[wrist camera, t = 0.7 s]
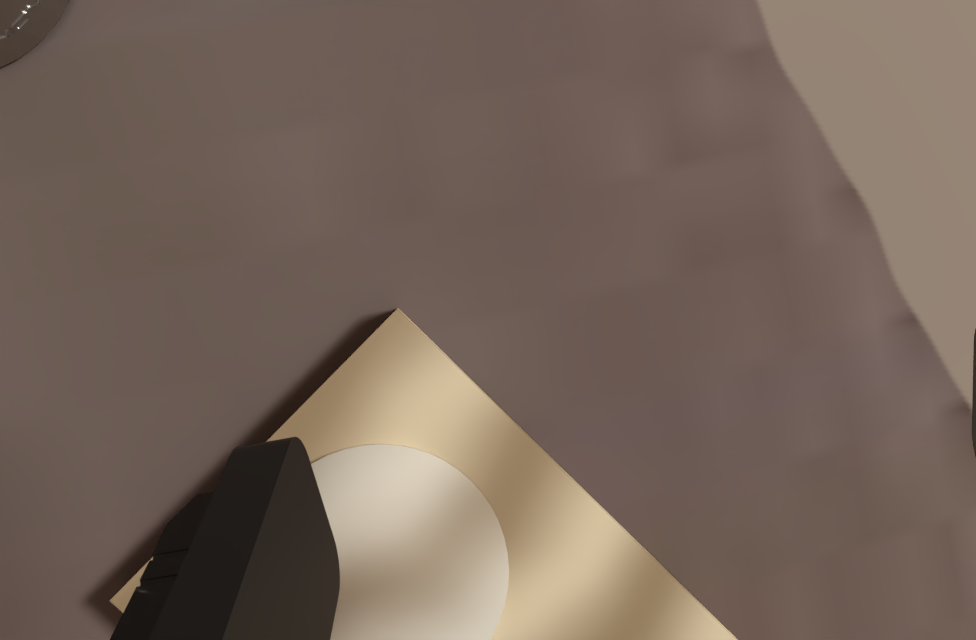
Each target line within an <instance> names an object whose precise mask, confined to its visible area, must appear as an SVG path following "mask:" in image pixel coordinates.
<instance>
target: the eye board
mask: <svg viewBox="0 0 976 640" xmlns="http://www.w3.org/2000/svg"><path fill="white" fill-rule="evenodd" d="M290 437H298V438H299V439H300V440H301V441H302V443H303V444H304V446H305V448H306V451H307V454H308V456H309V460H310V463H311V466H312V469H313V472H314V476H315V479H316V482H317V485H318V488H319V492H320V495H321V498H322V501H323V504H324V507H325V511H326V514H327V517H328V520H329V523H330V527H331V530H332V533H333V536H334V540H335V543H336V548H337V553H338V559H339V568H340V590H339V597H338V602H337V607H336V612H335V617H334V622H333V628H332V633H331V638H330V640H738V639H737V638H736V637H735V636H734V635H733V634H732V633H731V632H730V631H728V630H727V629H726V628H725V627H724V626H723V625H722V624H721V623H720V622H719V621H718V620H717V619H716V618H715V617H714V616H713V615H712V614H711V613H710V612H709V611H708V610H707V609H706V608H705V607H704V606H703V605H702V604H701V603H700V602H699V601H698V600H697V599H696V598H695V597H694V596H693V595H692V594H691V593H690V592H689V591H688V590H687V589H685V588H684V587H683V586H682V585H681V584H680V583H679V582H678V581H677V580H676V579H675V578H674V577H673V576H672V575H671V574H670V573H669V572H668V571H667V570H666V569H665V568H664V567H663V566H662V565H661V564H660V563H659V562H658V561H657V560H656V559H655V558H654V557H653V556H652V555H651V554H650V553H649V552H648V551H647V550H646V549H645V548H643V547H642V546H641V545H640V544H639V543H638V542H637V541H636V540H635V539H634V538H633V537H632V536H631V535H630V534H629V533H628V532H627V531H626V530H625V529H624V528H623V527H622V526H621V525H620V524H619V523H618V522H617V521H616V520H615V519H614V518H613V517H612V516H611V515H610V514H609V513H608V512H607V511H606V510H605V509H604V508H603V507H602V506H600V505H599V504H598V503H597V502H596V501H595V500H594V499H593V498H592V497H591V496H590V495H589V494H588V493H587V492H586V491H585V490H584V489H583V488H582V487H581V486H580V485H579V484H578V483H577V482H576V481H575V480H574V479H573V478H572V477H571V476H570V475H569V474H568V473H567V472H566V471H565V470H564V469H563V468H562V467H561V466H560V465H558V464H557V463H556V462H555V461H554V460H553V459H552V458H551V457H550V456H549V455H548V454H547V453H546V452H545V451H544V450H543V449H542V448H541V447H540V446H539V445H538V444H537V443H536V442H535V441H534V440H533V439H532V438H531V437H530V436H529V435H528V434H527V433H526V432H525V431H524V430H523V429H522V428H521V427H520V426H519V425H518V424H517V423H515V422H514V421H513V420H512V419H511V418H510V417H509V416H508V415H507V414H506V413H505V412H504V411H503V410H502V409H501V408H500V407H499V406H498V405H497V404H496V403H495V402H494V401H493V400H492V399H491V398H490V397H489V396H488V395H487V394H486V393H485V392H484V391H483V390H482V389H481V388H480V387H479V386H478V385H477V384H476V383H475V382H473V381H472V380H471V379H470V378H469V377H468V376H467V375H466V374H465V373H464V372H463V371H462V370H461V369H460V368H459V367H458V366H457V365H456V364H455V363H454V362H453V361H452V360H451V359H450V358H449V357H448V356H447V355H446V354H445V353H444V352H443V351H442V350H441V349H440V348H439V347H438V346H437V345H436V344H435V343H434V342H433V341H432V340H430V339H429V338H428V337H427V336H426V335H425V334H424V333H423V332H422V331H421V330H420V329H419V328H418V327H417V326H416V325H415V324H414V323H413V322H412V321H411V320H410V319H409V318H408V317H407V316H406V315H405V314H404V313H403V312H402V311H401V310H400V309H399V308H397V309H396V310H395V311H394V312H393V313H392V314H391V315H390V316H389V317H388V318H387V320H386V321H385V322H384V323H383V324H382V325H381V326H380V327H379V328H378V329H377V330H376V331H375V332H374V333H373V334H372V335H371V336H370V337H369V338H368V339H367V340H366V341H365V342H364V343H363V344H362V345H361V346H360V347H359V348H358V349H357V350H356V351H355V352H354V353H353V354H352V355H351V356H350V357H349V358H348V359H347V360H346V361H345V362H344V363H343V364H342V365H341V366H340V367H339V368H338V369H337V370H336V371H335V372H334V373H333V374H332V375H331V376H330V377H329V378H328V379H327V380H326V381H325V382H324V383H323V384H322V386H321V387H320V388H319V389H318V390H317V391H316V392H315V393H314V394H313V395H312V396H311V397H310V398H309V399H308V400H307V401H306V402H305V403H304V404H303V405H302V406H301V407H300V408H299V409H298V410H297V411H296V412H295V413H294V414H293V415H292V416H291V417H290V418H289V419H288V420H287V421H286V422H285V423H284V424H283V425H282V426H281V427H280V428H279V429H278V430H277V431H276V432H275V433H274V434H273V435H272V436H271V437H270V438H269V439H268V440H267V441H266V442H268V441H273V440H279V439H285V438H290ZM151 560H153V557H152V558H151V559H150V560H149V561H151ZM149 561H148V562H149ZM148 562H147V563H146V564H145V565H144V566H143V567H142V568H141V569H140V570H139V571H138V572H137V573H136V574H135V575H134V576H133V577H132V578H131V579H130V580H129V581H128V582H127V584H126V585H125V586H124V587H123V588H122V589H121V590H120V591H119V592H118V593H117V594H116V595H115V596H114V597H113V598H112V599H111V600H110V602H111V603H113V604H114V605H115V606H116V607H117V608H118V609H119V610H120V611H121V612H122V613H124V611H125V609H126V607H127V605H128V603H129V601H130V599H131V597H132V595H133V593H134V590H135V588H136V587H138V586H140V578H141V576H142V574H143V572H144V570H145V568H146V566H147V564H148Z"/></svg>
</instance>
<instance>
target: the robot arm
mask: <svg viewBox="0 0 976 640" xmlns="http://www.w3.org/2000/svg"><path fill="white" fill-rule="evenodd" d="M68 2H69V0H0V67H2V66H5V65H7V64H9V63H11V62H13V61H15V60H17V59H19V58H21V57H22V56H23V55H25V54H26V53H27V52H28V51H30V50H31V49H32V48H33V47H35V46H36V45H37V44H38V43H40V42H41V41H42V40H43V39H44V38H45V37H46V35H47V34H48V33H49V32H50V30H51V29H52V28H53V27H54V26H55V24H56V23H57V22H58V21H59V19H60V18H61V16H62V14H63V12H64V10H65V8H66V6H67V4H68ZM973 363H974V365H973V409H972V440H973V447H974V452H975V456H976V330H975V335H974V362H973ZM152 555H153V560H151V561H149V562H148V564H147V566H146V568H145V570H144V572H143V574H142V576H141V578H140V586H138V587H136V588H135V590H134V593H133V595H132V597H131V599H130V601H129V603H128V605H127V607H126V609H125V611H124V613H123V615H122V617H121V619H120V621H119V623H118V625H117V627H116V629H115V631H114V633H113V635H112V637H111V639H110V640H330V638H331V633H332V628H333V622H334V617H335V612H336V607H337V602H338V597H339V590H340V568H339V559H338V553H337V548H336V543H335V540H334V536H333V533H332V530H331V527H330V523H329V520H328V517H327V514H326V511H325V507H324V504H323V501H322V498H321V495H320V492H319V488H318V485H317V482H316V479H315V476H314V472H313V469H312V466H311V463H310V460H309V456H308V454H307V451H306V448H305V446H304V444H303V443H302V441H301V440H300V439H299V438H298V437H290V438H285V439H279V440H273V441H268V442H262V443H256V444H251V445H245V446H239V447H236V448H235V449H234V450H233V452H232V453H231V456H230V458H229V460H228V462H227V465H226V467H225V469H224V471H223V474H222V476H221V478H220V480H219V483H218V485H217V487H216V489H215V492H211V493H205V494H200V495H197V496H196V497H195V498H194V499H193V500H192V501H191V502H190V503H189V504H188V505H187V506H186V507H185V508H184V509H183V510H182V511H180V512H179V513H178V514H177V515H176V516H175V517H174V518H173V519H172V520H171V521H170V522H169V523H168V524H167V526H166V528H165V530H164V532H163V534H162V536H161V538H160V540H159V542H158V544H157V546H156V548H155V550H154V552H153V554H152Z"/></svg>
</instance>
